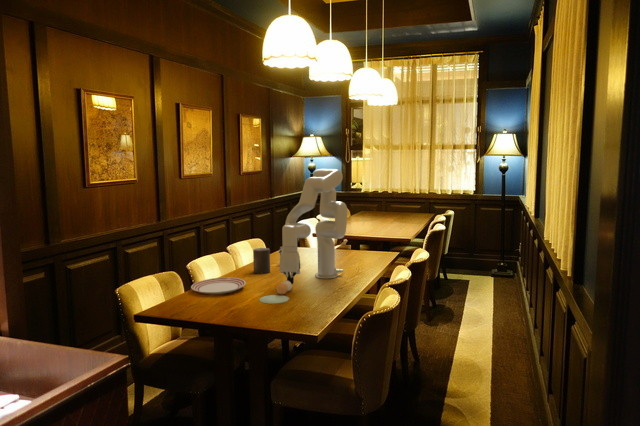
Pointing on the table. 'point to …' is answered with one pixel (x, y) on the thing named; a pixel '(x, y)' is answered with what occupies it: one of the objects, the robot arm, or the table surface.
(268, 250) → the pillar candle
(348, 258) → the table surface
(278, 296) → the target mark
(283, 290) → the object ball
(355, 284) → the table surface
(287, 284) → the cue ball
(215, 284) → the dinner plate
